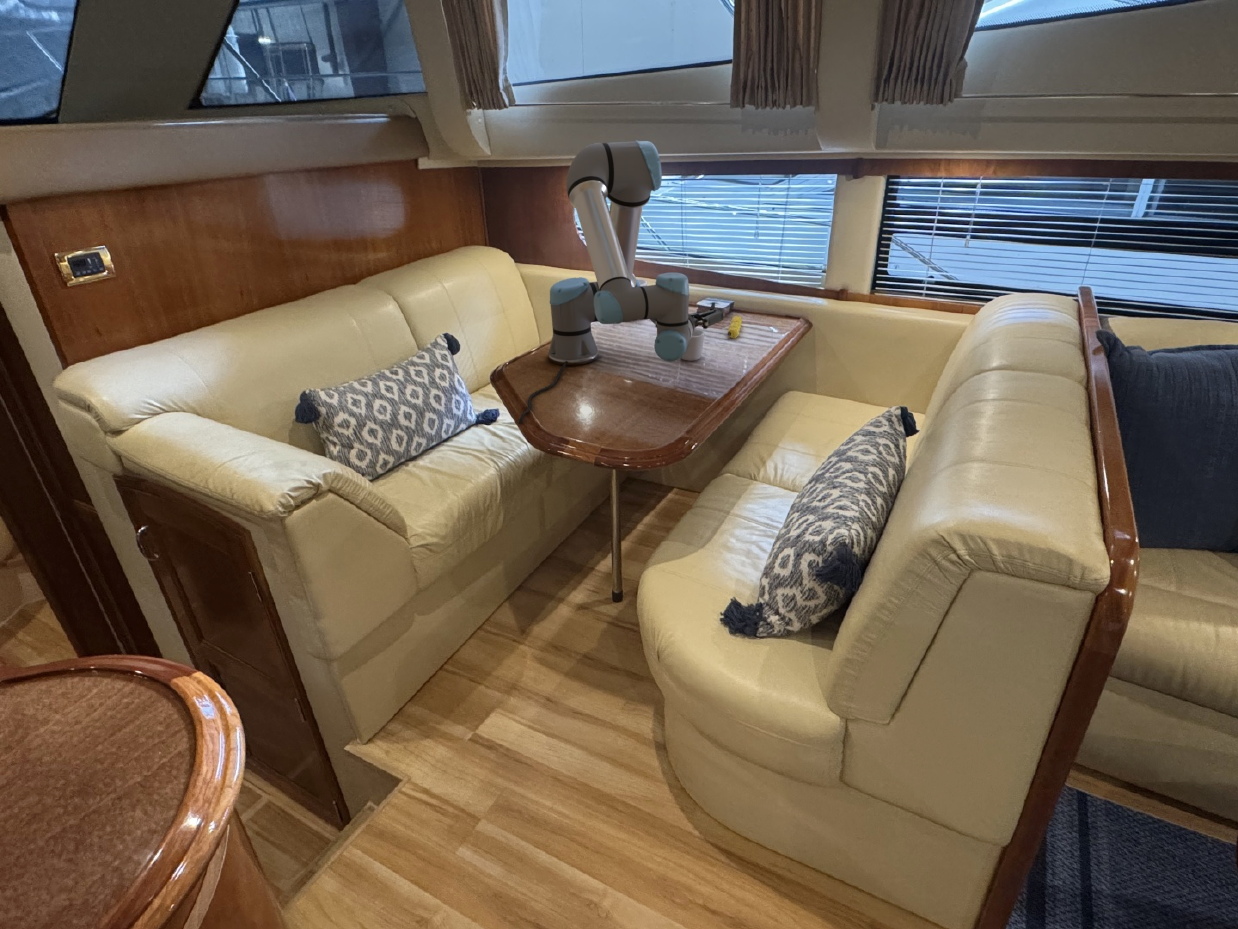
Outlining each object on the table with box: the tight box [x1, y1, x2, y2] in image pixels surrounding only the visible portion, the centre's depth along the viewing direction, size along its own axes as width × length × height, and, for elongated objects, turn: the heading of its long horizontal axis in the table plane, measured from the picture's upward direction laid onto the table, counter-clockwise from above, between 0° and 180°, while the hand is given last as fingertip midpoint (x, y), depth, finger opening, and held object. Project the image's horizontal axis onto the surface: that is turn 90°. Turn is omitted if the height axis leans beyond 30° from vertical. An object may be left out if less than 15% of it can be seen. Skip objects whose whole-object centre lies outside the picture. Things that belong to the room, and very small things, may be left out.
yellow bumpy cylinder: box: [726, 315, 743, 339], centre depth 221 cm, size 17×4×4 cm, turn 166°
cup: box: [680, 328, 705, 362], centre depth 200 cm, size 11×8×8 cm
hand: (689, 306), depth 186 cm, fingers open, 13 cm apart
